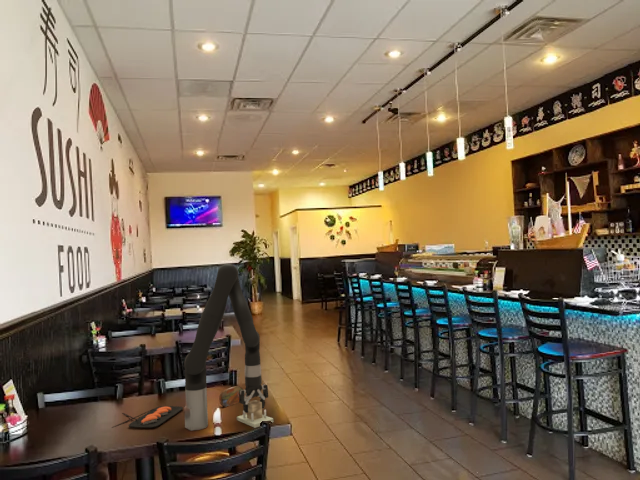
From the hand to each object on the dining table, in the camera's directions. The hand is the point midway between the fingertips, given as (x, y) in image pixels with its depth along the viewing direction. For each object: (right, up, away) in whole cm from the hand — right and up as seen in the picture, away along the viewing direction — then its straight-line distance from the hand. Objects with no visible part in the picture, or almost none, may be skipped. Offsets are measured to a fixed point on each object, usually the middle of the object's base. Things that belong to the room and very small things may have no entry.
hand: (254, 410), depth 228 cm
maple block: (0, -3, 0) cm, 4 cm away
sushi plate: (-55, -8, +11) cm, 57 cm away
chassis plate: (0, -5, 0) cm, 5 cm away
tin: (-15, -7, +27) cm, 32 cm away
